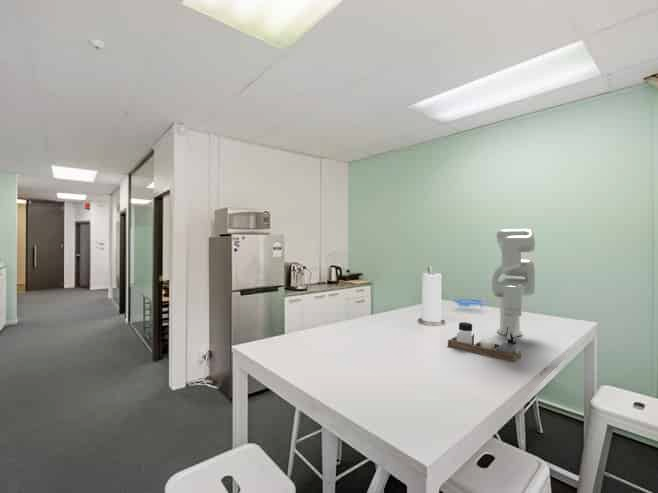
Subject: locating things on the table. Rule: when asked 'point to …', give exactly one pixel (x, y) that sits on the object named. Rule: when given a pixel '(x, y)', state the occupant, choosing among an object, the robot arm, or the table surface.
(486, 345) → the white rounded lump
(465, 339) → the medicine bottle
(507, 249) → the robot arm
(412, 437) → the table surface
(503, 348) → the grey rectangular block
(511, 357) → the wooden compartment tray
